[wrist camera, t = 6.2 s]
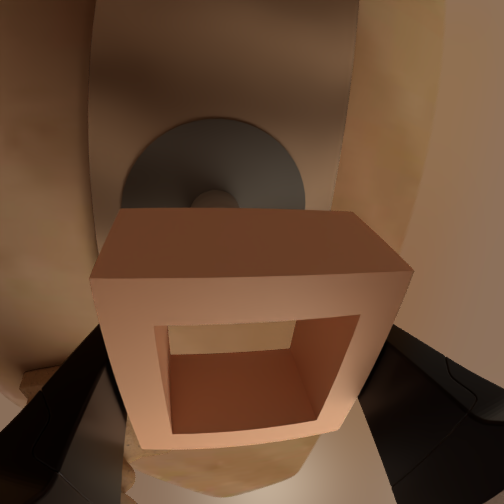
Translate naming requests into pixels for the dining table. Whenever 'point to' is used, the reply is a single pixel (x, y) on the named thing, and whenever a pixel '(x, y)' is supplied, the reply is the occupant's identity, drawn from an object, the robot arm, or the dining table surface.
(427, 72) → the dining table surface
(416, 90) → the dining table surface
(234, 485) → the dining table surface
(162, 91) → the post board
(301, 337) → the collar
